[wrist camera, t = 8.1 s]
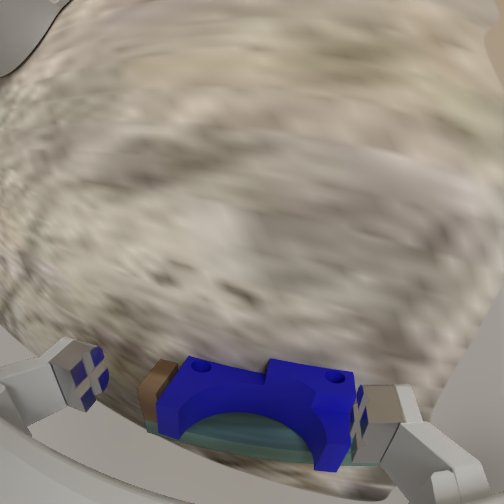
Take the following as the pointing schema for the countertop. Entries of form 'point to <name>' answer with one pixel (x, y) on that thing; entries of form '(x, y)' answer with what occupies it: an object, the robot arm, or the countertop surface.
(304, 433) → the cable clip
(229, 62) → the countertop surface
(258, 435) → the rail
